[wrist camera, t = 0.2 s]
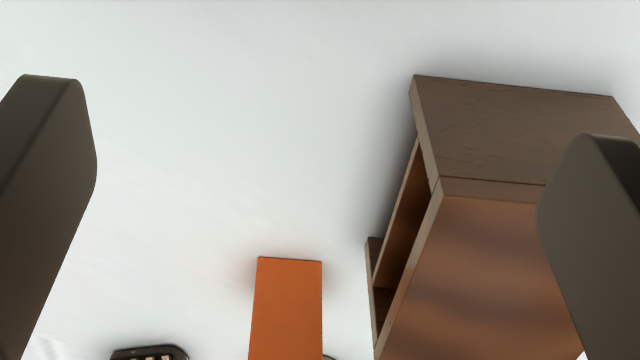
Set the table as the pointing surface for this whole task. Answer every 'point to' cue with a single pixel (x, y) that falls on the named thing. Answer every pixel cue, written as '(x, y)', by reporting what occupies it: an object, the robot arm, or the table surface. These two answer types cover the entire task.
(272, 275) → the box
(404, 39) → the table surface
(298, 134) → the table surface
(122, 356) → the battery charger
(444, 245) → the shelf
